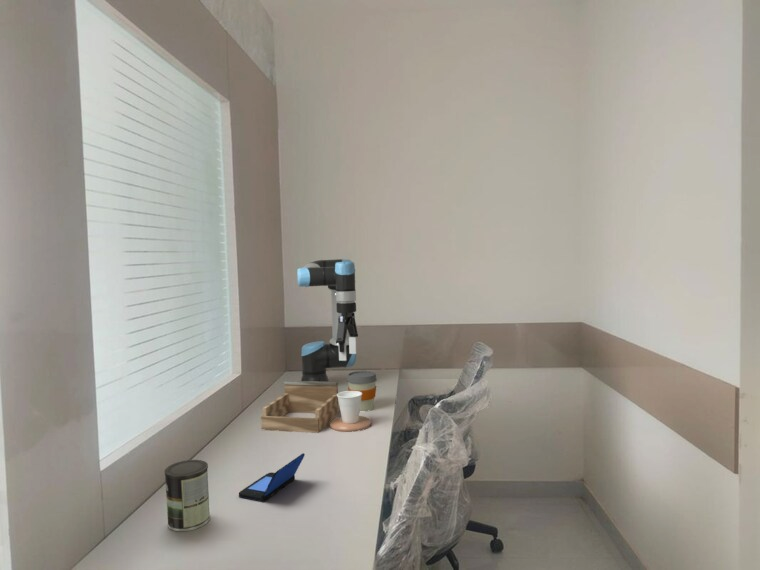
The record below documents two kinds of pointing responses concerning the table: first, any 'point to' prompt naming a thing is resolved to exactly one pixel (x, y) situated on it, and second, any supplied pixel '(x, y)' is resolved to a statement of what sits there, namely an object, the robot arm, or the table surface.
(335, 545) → the table surface
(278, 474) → the handheld game console
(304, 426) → the frame
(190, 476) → the coffee can
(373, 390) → the reusable coffee cup
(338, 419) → the saucer
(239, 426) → the table surface
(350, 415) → the cup
